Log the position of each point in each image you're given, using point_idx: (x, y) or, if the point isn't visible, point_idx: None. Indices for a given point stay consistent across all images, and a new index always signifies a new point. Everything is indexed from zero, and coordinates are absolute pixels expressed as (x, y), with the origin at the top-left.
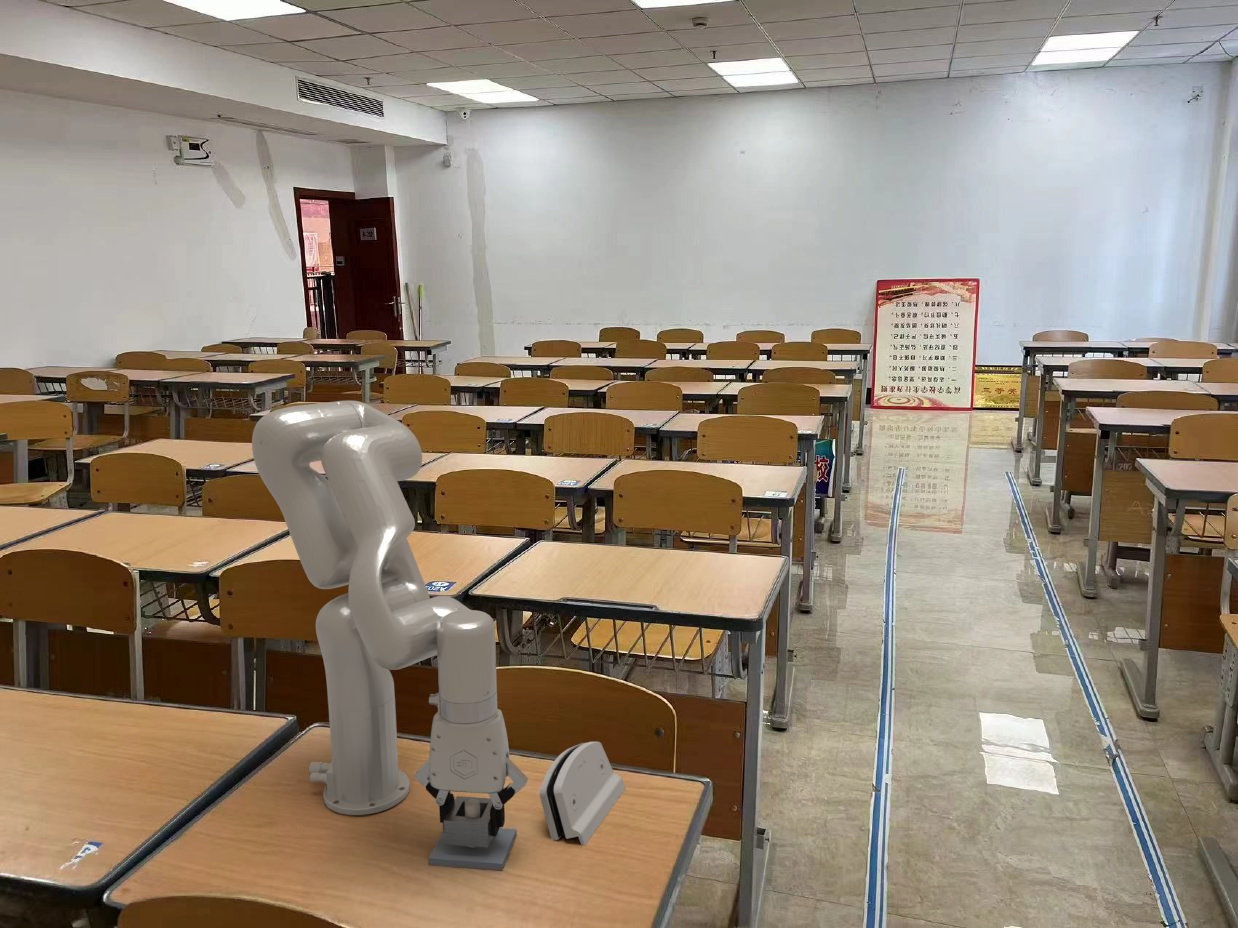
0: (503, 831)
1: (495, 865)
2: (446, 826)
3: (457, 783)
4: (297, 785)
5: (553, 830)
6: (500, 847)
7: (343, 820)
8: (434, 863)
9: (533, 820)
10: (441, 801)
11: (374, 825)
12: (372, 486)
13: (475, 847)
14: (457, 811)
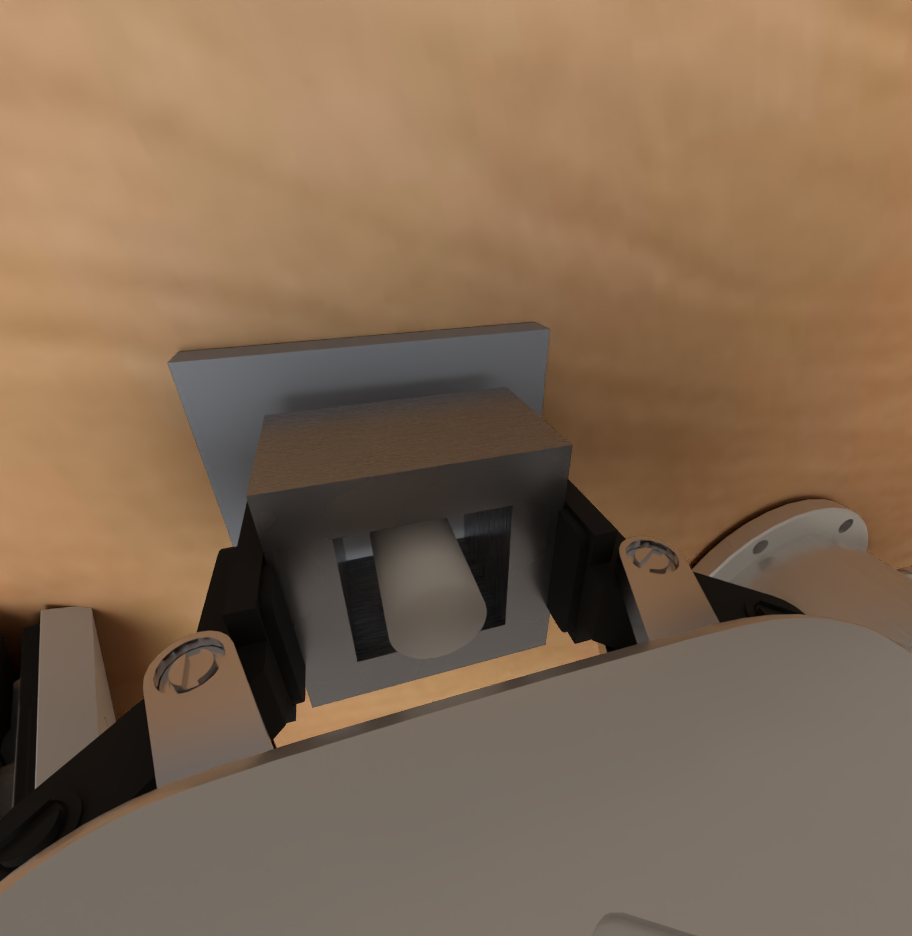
0: None
1: (211, 355)
2: (536, 429)
3: (666, 769)
4: (890, 559)
5: (57, 643)
6: None
7: (810, 478)
8: (514, 325)
9: None
10: (641, 557)
11: (734, 483)
12: None
13: None
14: (509, 546)
